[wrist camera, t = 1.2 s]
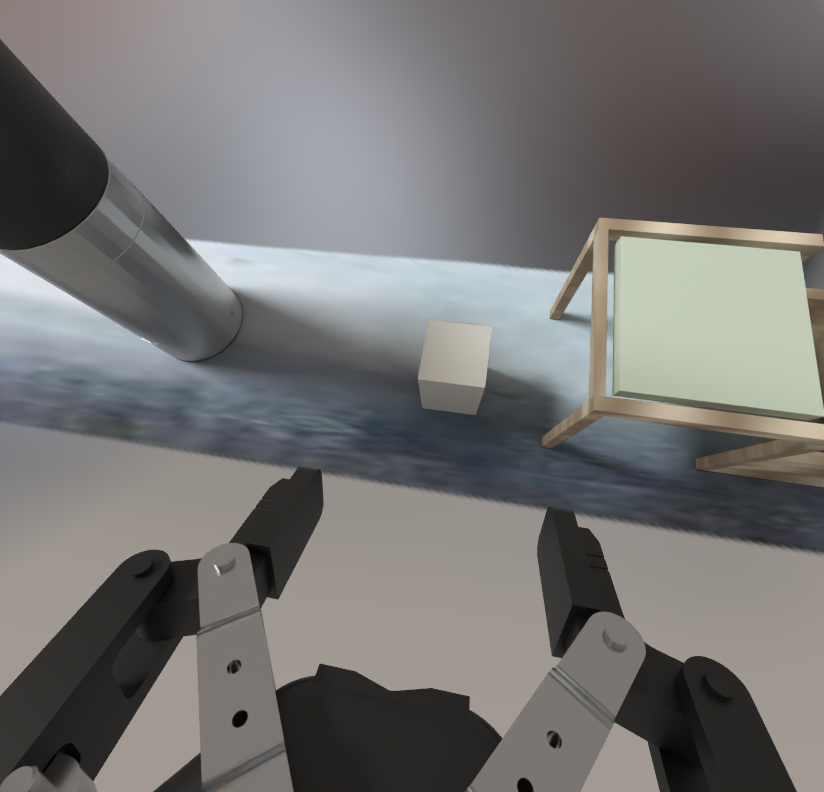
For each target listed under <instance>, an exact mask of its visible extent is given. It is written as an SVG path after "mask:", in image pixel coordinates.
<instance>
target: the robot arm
mask: <svg viewBox="0 0 824 792" xmlns="http://www.w3.org/2000/svg"><path fill="white" fill-rule="evenodd" d="M0 254H2V255H4V256H5V257H7V258H9V259H10V260H12V261H14V262H15V263H17V264H19V265H20V266H22V267H24V268H25V269H27V270H29V271H30V272H32V273H34V274H36V275H38V276H39V277H41V278H43V279H44V280H46V281H48V282H49V283H51V284H53V285H54V286H56V287H58V288H59V289H61V290H63V291H64V292H66V293H68V294H69V295H71V296H73V297H74V298H76V299H78V300H79V301H81V302H83V303H84V304H86V305H88V306H89V307H91V308H93V309H94V310H96V311H98V312H99V313H101V314H103V315H104V316H106V317H108V318H109V319H111V320H113V321H114V322H116V323H118V324H119V325H121V326H123V327H124V328H126V329H128V330H129V331H131V332H133V333H134V334H136V335H138V336H139V337H141V338H143V339H144V340H146V341H147V342H149V343H151V344H152V345H154V346H156V347H157V348H159V349H161V350H163V351H164V352H166V353H168V354H169V355H171V356H173V357H175V358H177V359H181V360H184V361H197V360H203V359H206V358H208V357H211V356H213V355H215V354H217V353H218V352H220V351H222V350H223V349H224V348H225V347H226V346H227V345H229V343H230V342H231V341H232V340H233V339H234V337H235V335H236V334H237V332H238V330H239V327H240V324H241V320H242V308H241V304H240V302H239V299H238V297H237V296H236V295H235V294H234V292H233V291H232V290H231V289H230V288H229V287H228V286H227V285H226V284H225V283H224V281H223V280H222V279H221V278H220V277H219V276H218V275H217V274H216V273H215V271H214V270H213V269H212V268H211V267H210V266H209V265H208V264H207V263H206V262H205V261H204V259H203V258H202V257H201V256H200V255H199V254H198V253H197V252H196V251H195V250H194V249H193V248H192V247H191V245H190V244H189V243H188V242H187V241H186V240H185V239H184V238H183V237H182V236H181V235H180V234H179V232H178V231H177V230H176V229H175V228H174V227H173V226H172V225H171V224H170V223H169V222H168V221H167V220H166V219H165V217H164V216H163V215H162V214H161V213H160V212H159V211H158V210H157V209H156V208H155V207H154V206H153V204H152V203H151V202H150V201H149V200H148V199H147V198H146V197H145V196H144V195H143V194H142V192H141V191H139V189H138V188H137V187H136V186H135V185H134V184H133V183H132V182H131V181H130V180H129V179H128V178H127V176H126V175H124V173H122V171H121V170H120V169H119V168H118V167H117V166H116V165H115V164H114V162H113V161H112V160H111V159H110V158H109V157H108V156H107V155H106V154H105V153H104V152H103V151H102V150H101V148H100V147H99V146H98V145H97V144H96V143H95V142H94V141H93V140H92V138H91V137H90V136H88V134H87V133H86V132H85V131H84V130H83V129H82V128H81V127H80V126H79V125H78V124H77V122H76V121H75V120H74V119H73V118H72V117H71V116H70V115H69V114H68V113H67V112H66V111H65V110H64V108H63V107H62V106H61V105H60V104H59V103H58V102H57V101H56V100H55V99H54V98H53V97H52V95H51V94H50V93H49V92H48V91H47V90H46V89H45V88H44V87H43V86H42V84H41V83H40V82H39V81H38V80H37V79H36V78H35V77H34V76H33V75H32V74H31V73H30V72H29V70H28V69H27V68H26V67H25V66H24V65H23V64H22V63H21V61H20V60H19V59H18V58H17V57H16V56H15V55H14V54H13V53H12V52H11V51H10V50H9V48H8V47H7V46H6V45H5V44H4V43H3V42H2V41H1V39H0ZM322 509H323V488H322V473H321V470H319V469H313V468H307V467H299V468H297V470H296V471H295V473H294V474H293V476H292V477H291V479H284V478H283V479H281V480H280V481H278V482H277V483H275V484H274V485H272V486H271V487H270V488H269V490H268V491H267V492H266V493H265V495H264V496H263V497H262V500H260V502H259V503H258V504H257V506H256V508H255V509H254V510H253V511H252V512H251V514H250V515H249V516H248V518H247V519H246V520H245V522H244V523H243V525H242V526H241V527H240V529H239V530H238V531H237V533H236V534H235V536H234V537H233V538H232V539H231V541H230V542H229V543H226V544H222V545H220V546H217V547H215V548H213V549H212V550H210V551H209V552H208V553H207V554H205V556H204V557H203V558H201V559H194V560H184V561H175V562H171V561H170V558H169V556H168V554H167V553H166V552H164V551H161V550H147V551H144V552H140V553H138V554H135V555H133V556H131V557H130V558H128V559H127V560H125V561H124V562H123V563H122V564H121V565H120V566H119V567H118V568H117V569H116V570H115V571H114V572H113V573H112V574H111V575H110V577H109V578H108V579H107V580H106V581H105V582H104V583H103V584H102V585H101V586H100V587H99V589H98V590H97V591H96V592H95V593H94V594H93V595H92V596H91V597H90V598H89V599H88V601H87V602H86V603H85V604H84V605H83V606H82V607H81V608H80V609H79V610H78V611H77V613H76V614H75V615H74V616H73V617H72V618H71V619H70V620H69V621H68V622H67V624H66V625H65V626H64V627H63V628H62V629H61V630H60V631H59V632H58V633H57V635H56V636H55V637H54V638H53V639H52V640H51V641H50V642H49V643H48V644H47V645H46V647H45V648H44V649H43V650H42V651H41V652H40V653H39V654H38V655H37V656H36V657H35V659H34V660H33V661H32V662H31V663H30V664H29V665H28V666H27V667H26V668H25V669H24V671H23V672H22V673H21V674H20V675H19V676H18V677H17V678H16V679H15V680H14V682H13V683H12V684H11V685H10V686H9V687H8V688H7V689H6V690H5V691H4V692H3V694H2V695H1V696H0V792H97V789H96V786H95V784H94V783H93V781H94V779H95V777H96V776H97V774H98V772H99V771H100V769H101V768H102V766H103V765H104V763H105V761H106V760H107V758H108V756H109V755H110V753H111V752H112V750H113V749H114V747H115V745H116V744H117V742H118V740H119V739H120V737H121V736H122V734H123V732H124V731H125V729H126V728H127V726H128V724H129V723H130V721H131V720H132V718H133V716H134V715H135V713H136V711H137V710H138V708H139V707H140V705H141V704H142V702H143V700H144V699H145V697H146V695H147V694H148V692H149V691H150V689H151V687H152V686H153V684H154V682H155V681H156V679H157V677H158V676H159V675H160V673H161V671H162V670H163V668H164V667H165V665H166V663H167V662H168V660H169V658H170V657H171V655H172V654H173V652H174V650H175V649H176V647H177V646H178V644H179V642H180V641H181V639H182V638H183V636H190V635H197V664H198V691H199V718H200V744H201V752H200V753H199V754H198V755H197V756H196V757H194V758H193V759H192V760H191V761H190V762H189V763H187V764H186V765H185V766H184V767H182V768H181V769H180V770H179V771H178V772H177V773H175V774H174V775H173V776H172V777H170V778H169V779H168V780H167V781H166V782H164V783H163V784H162V785H161V786H160V787H158V788H157V789H156V790H155V791H153V792H580V791H581V789H582V787H583V785H584V783H585V781H586V779H587V777H588V775H589V773H590V771H591V769H592V767H593V765H594V763H595V761H596V759H597V757H598V755H599V753H600V751H601V749H602V747H603V744H604V743H605V740H606V738H607V737H608V734H609V732H610V730H611V728H612V726H613V724H614V722H615V723H617V724H619V725H620V726H622V727H624V728H626V729H627V730H629V731H631V732H633V733H634V734H636V735H638V736H640V737H641V738H643V739H645V740H646V741H648V745H649V749H650V753H651V757H652V761H653V765H654V769H655V773H656V777H657V781H658V785H659V789H660V792H797V791H796V789H795V787H794V785H793V783H792V781H791V779H790V777H789V775H788V772H787V770H786V768H785V766H784V764H783V762H782V760H781V758H780V756H779V754H778V752H777V750H776V747H775V745H774V744H773V741H772V739H771V737H770V735H769V733H768V731H767V729H766V727H765V724H764V723H763V720H762V718H761V716H760V714H759V712H758V710H757V708H756V706H755V704H754V702H753V700H752V698H751V695H750V694H749V692H748V690H747V689H746V687H745V686H744V684H743V683H742V682H741V681H740V680H739V679H738V678H737V676H736V675H734V674H733V673H732V672H731V671H730V670H729V669H727V668H726V667H724V666H723V665H722V664H720V663H718V662H716V661H714V660H712V659H709V658H706V657H702V656H694V657H690V658H689V659H687V661H685V663H683V662H680V661H679V660H677V659H674V658H672V657H670V656H668V655H666V654H664V653H662V652H660V651H658V650H656V649H654V648H652V647H651V646H649V645H648V644H646V643H645V642H644V641H643V639H642V637H641V636H640V634H639V632H638V631H637V630H636V629H635V628H634V627H633V626H632V625H631V624H630V623H629V622H628V621H626V620H625V618H624V615H623V613H622V610H621V607H620V604H619V600H618V597H617V595H616V591H615V588H614V585H613V582H612V579H611V576H610V573H609V571H608V567H607V564H606V561H605V559H604V555H603V552H602V549H601V546H600V543H599V541H598V540H597V539H596V538H595V536H594V535H593V534H592V533H591V531H590V530H589V529H587V528H581V527H578V525H577V521H576V517H575V514H574V512H573V510H569V509H563V508H557V507H548V509H547V512H546V515H545V519H544V522H543V525H542V529H541V533H540V535H539V539H538V547H537V556H538V564H539V569H540V577H541V584H542V591H543V598H544V604H545V611H546V618H547V625H548V632H549V639H550V646H551V652H552V656H554V657H560V658H562V659H561V661H560V662H559V664H558V665H557V666H556V667H555V668H552V669H551V670H550V671H549V673H548V674H547V675H546V677H545V678H544V680H543V681H542V683H541V684H540V686H539V687H538V688H537V690H536V691H535V693H534V694H533V696H532V697H531V698H530V700H529V701H528V703H527V704H526V706H525V707H524V708H523V710H522V712H521V713H520V714H519V716H518V717H517V719H516V720H515V722H514V723H513V724H512V726H511V728H510V729H509V730H508V732H507V733H506V734H505V736H504V737H503V739H502V737H501V736H500V735H499V734H498V733H497V732H496V730H495V729H494V728H493V727H492V726H491V725H490V724H488V723H487V722H486V721H485V720H484V719H483V718H481V717H480V716H479V715H477V714H476V713H474V712H472V711H471V710H469V699H470V697H469V696H465V695H460V694H456V693H451V692H447V691H442V690H437V689H433V688H428V689H416V690H403V691H390V690H387V689H386V688H384V687H382V686H380V685H378V684H377V683H375V682H373V681H371V680H370V679H368V678H366V677H364V676H362V675H361V674H359V673H357V672H355V671H351V670H346V669H342V668H338V667H333V666H329V665H324V664H319V667H318V670H317V673H316V676H309V677H305V678H301V679H298V680H295V681H292V682H290V683H288V684H286V685H284V686H282V687H281V688H279V689H278V690H276V686H275V681H274V677H273V671H272V666H271V661H270V656H269V650H268V645H267V640H266V634H265V629H264V624H263V618H262V613H261V607H262V605H263V603H264V601H265V599H266V598H267V597H269V598H274V599H279V597H280V595H281V593H282V591H283V589H284V587H285V585H286V583H287V581H288V580H289V577H290V576H291V574H292V572H293V570H294V568H295V566H296V564H297V562H298V560H299V558H300V556H301V554H302V552H303V550H304V548H305V546H306V544H307V542H308V541H309V539H310V537H311V534H312V533H313V531H314V529H315V527H316V525H317V523H318V521H319V519H320V516H321V514H322Z"/></svg>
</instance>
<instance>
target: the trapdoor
mask: <svg viewBox="0 0 824 792" xmlns="http://www.w3.org/2000/svg"><path fill="white" fill-rule="evenodd" d="M614 247H615V248H614V318H613V396H621V397H628V398H636V399H644V400H652V401H659V402H667V403H675V404H683V405H691V406H698V407H706V408H714V409H722V410H729V411H737V412H745V413H753V414H761V415H768V416H776V417H784V418H792V419H799V420H807V421H809V420H813V419H817V418H821V417H824V408H823V401H822V395H821V388H820V381H819V375H818V368H817V361H816V355H815V348H814V341H813V335H812V328H811V321H810V315H809V308H808V301H807V295H806V288H805V281H804V275H803V268H802V261H801V255H800V252H799V251H787V250H775V249H764V248H752V247H740V246H729V245H717V244H705V243H694V242H682V241H670V240H658V239H647V238H635V237H623V236H621V237H620V238H619V240H618V242H617V243H616V245H615V246H614Z"/></svg>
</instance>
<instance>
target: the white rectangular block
mask: <svg viewBox="0 0 824 792" xmlns="http://www.w3.org/2000/svg"><path fill="white" fill-rule="evenodd" d="M491 332H492V327H491V326H482V325H473V324H463V323H454V322H445V321H436V320H427V326H426V332H425V338H424V344H423V350H422V356H421V362H420V368H419V374H418V384H419V390H420V396H421V402H422V408H426V409H433V410H440V411H447V412H455V413H462V414H469V415H476V413H477V410H478V407H479V404H480V401H481V399H482V396H483V393H484V390H485V385H486V376H487V367H488V358H489V349H490V340H491Z"/></svg>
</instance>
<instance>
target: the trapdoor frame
mask: <svg viewBox="0 0 824 792" xmlns="http://www.w3.org/2000/svg"><path fill="white" fill-rule="evenodd" d="M621 236H623V237H635V238H647V239H658V240H670V241H682V242H694V243H705V244H717V245H729V246H740V247H752V248H764V249H775V250H787V251H799V252H800V255H801V261H804V260H805V259H807V258H808V257H810V256H811V255H812V254H814V253H815V252H817V251H818V250H819V249H821V248H822V247H824V242H823V236H822V234H808V233H796V232H783V231H769V230H756V229H742V228H730V227H729V228H728V227H716V226H703V225H690V224H675V223H663V222H650V221H636V220H623V219H610V218H599V220H598V222H597V224H596V226H595V227H594V229H593V231H592V233H591V235H590V237H589V239H588V241H587V242H586V244H585V246H584V248H583V250H582V252H581V254H580V256H579V258H578V259H577V261H576V263H575V265H574V267H573V269H572V271H571V273H570V275H569V276H568V278H567V280H566V282H565V284H564V286H563V288H562V290H561V292H560V293H559V295H558V297H557V299H556V301H555V303H554V305H553V307H552V308H551V310H550V319H560V317H561V316H562V314H563V312H564V311H565V309H566V307H567V306H568V304H569V302H570V301H571V299H572V297H573V296H574V294H575V292H576V291H577V289H578V287H579V286H580V284H581V282H582V281H583V279H584V277H585V276H586V274H587V272H588V271H589V269H590V267H591V266H592V264H593V279H592V311H591V343H590V375H589V400H588V401H587V402H586V403H584V404H583V405H582V406H581V407H579V408H578V409H577V410H576V411H574V412H573V413H572V414H571V415H569V416H568V417H567V418H566V419H564V420H563V421H562V422H560V423H559V424H558V425H557V426H555V427H554V428H553V429H552V430H550V431H549V432H548V433H547V434H545V435H544V436H543V437H542V447H546V448H553V447H555V446H556V445H558V444H560V443H561V442H563V441H564V440H566V439H568V438H569V437H571V436H573V435H574V434H576V433H577V432H579V431H581V430H582V429H584V428H585V427H587V426H589V425H590V424H592V423H593V422H595V421H597V420H598V419H600V418H602V417H603V416H606V417H614V418H621V419H629V420H636V421H644V422H651V423H659V424H666V425H674V426H682V427H689V428H697V429H704V430H712V431H719V432H727V433H734V434H742V435H750V436H757V437H765V438H772V439H779V440H774V441H770V442H766V443H761V444H757V445H753V446H748V447H744V448H740V449H735V450H731V451H726V452H722V453H718V454H713V455H709V456H705V457H700V458H696V469H699V470H706V471H713V472H720V473H727V474H734V475H741V476H748V477H755V478H762V479H769V480H776V481H783V482H790V483H797V484H803V485H810V486H817V487H824V453H823V452H817V451H823V450H824V424H818V423H810V422H802V421H794V420H786V419H778V418H770V417H762V416H755V415H747V414H739V413H731V412H723V411H715V410H707V409H699V408H691V407H684V406H676V405H668V404H660V403H652V402H644V401H636V400H628V399H620V398H612V397H605V394H606V339H607V285H608V240H619V238H620V237H621ZM806 295H807V301H808V308H809V315H810V321H811V328H812V335H813V341H814V348H815V355H816V361H817V368H818V375H819V381H820V388H821V395H822V401H823V408H824V290H822V289H810V288H806ZM823 423H824V417H823Z"/></svg>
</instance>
